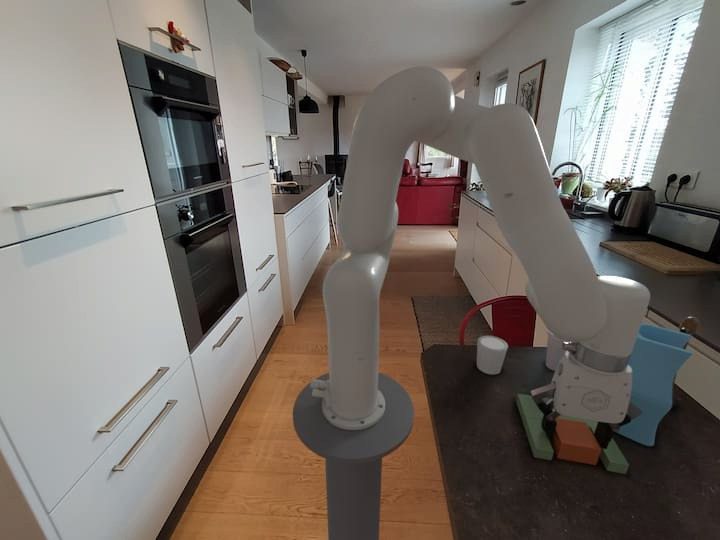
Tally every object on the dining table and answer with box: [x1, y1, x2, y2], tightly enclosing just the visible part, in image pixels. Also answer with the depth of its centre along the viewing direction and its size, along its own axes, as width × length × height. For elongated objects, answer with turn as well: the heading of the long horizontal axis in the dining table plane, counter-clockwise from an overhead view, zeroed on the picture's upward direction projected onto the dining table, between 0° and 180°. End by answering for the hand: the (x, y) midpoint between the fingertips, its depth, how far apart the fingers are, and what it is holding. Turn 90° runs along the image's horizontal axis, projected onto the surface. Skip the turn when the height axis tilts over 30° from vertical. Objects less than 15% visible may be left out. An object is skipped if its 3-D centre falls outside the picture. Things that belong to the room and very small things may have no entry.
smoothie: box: [545, 329, 570, 372], centre depth 78 cm, size 6×6×14 cm
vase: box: [614, 321, 694, 447], centre depth 60 cm, size 8×8×20 cm
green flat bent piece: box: [515, 393, 630, 475], centre depth 61 cm, size 14×14×2 cm
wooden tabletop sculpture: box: [671, 316, 701, 409], centre depth 66 cm, size 6×5×20 cm
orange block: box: [549, 418, 601, 466], centre depth 58 cm, size 6×6×4 cm
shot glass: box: [476, 335, 509, 376], centre depth 79 cm, size 7×7×7 cm
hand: (573, 437), depth 57 cm, fingers open, 7 cm apart
